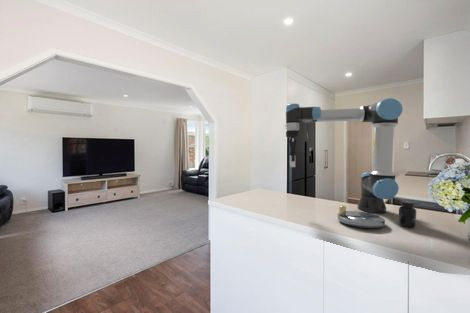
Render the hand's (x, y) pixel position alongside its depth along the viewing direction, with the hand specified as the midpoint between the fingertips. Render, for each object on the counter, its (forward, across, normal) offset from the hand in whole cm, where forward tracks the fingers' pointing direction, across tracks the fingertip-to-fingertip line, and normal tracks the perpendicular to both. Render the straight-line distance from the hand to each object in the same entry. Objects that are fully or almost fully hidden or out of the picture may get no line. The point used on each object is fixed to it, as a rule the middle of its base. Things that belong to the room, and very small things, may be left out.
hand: (292, 166), depth 134 cm
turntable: (+27, +14, +33) cm, 45 cm away
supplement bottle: (+28, +14, +54) cm, 63 cm away
